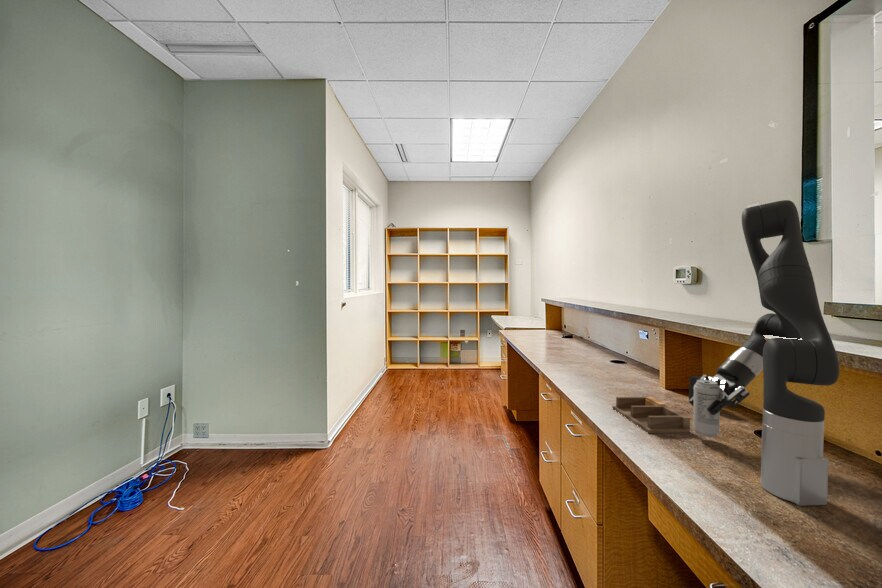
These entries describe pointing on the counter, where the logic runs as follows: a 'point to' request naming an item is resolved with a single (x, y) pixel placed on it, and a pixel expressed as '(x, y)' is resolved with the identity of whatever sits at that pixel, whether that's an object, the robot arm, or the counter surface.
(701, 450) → the counter surface
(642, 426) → the divided wooden tray
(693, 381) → the electronic device
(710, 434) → the energy drink can
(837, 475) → the counter surface
